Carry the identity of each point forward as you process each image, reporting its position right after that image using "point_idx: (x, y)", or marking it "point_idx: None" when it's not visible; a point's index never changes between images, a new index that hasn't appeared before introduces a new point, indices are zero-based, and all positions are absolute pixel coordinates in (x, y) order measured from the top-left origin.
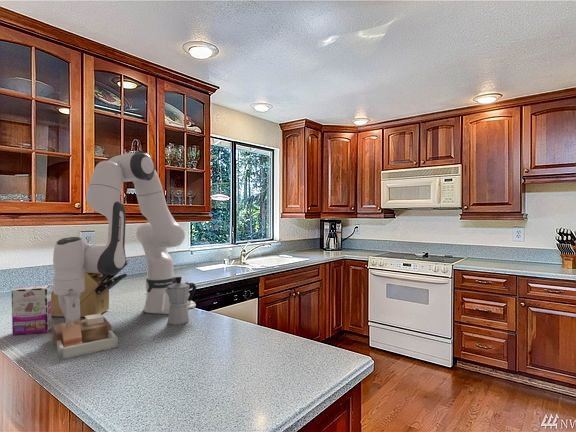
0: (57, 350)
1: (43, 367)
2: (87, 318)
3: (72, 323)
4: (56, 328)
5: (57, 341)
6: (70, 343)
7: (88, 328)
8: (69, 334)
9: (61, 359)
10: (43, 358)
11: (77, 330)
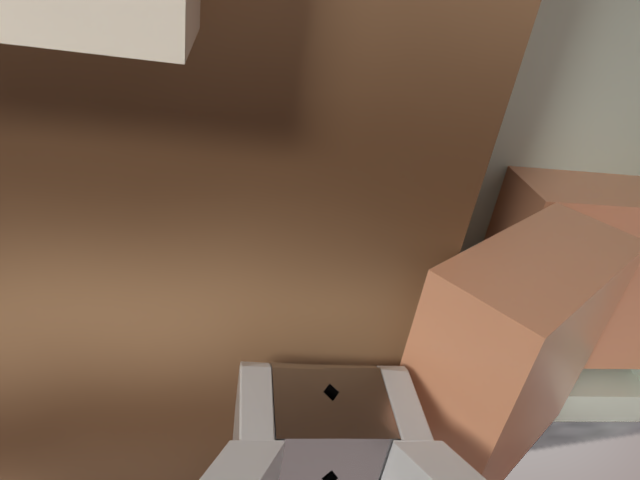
0: None
1: (620, 433)
2: (39, 30)
3: (445, 457)
4: (54, 470)
5: None
6: None
7: (468, 92)
8: (551, 399)
9: None
10: None
11: (578, 331)
